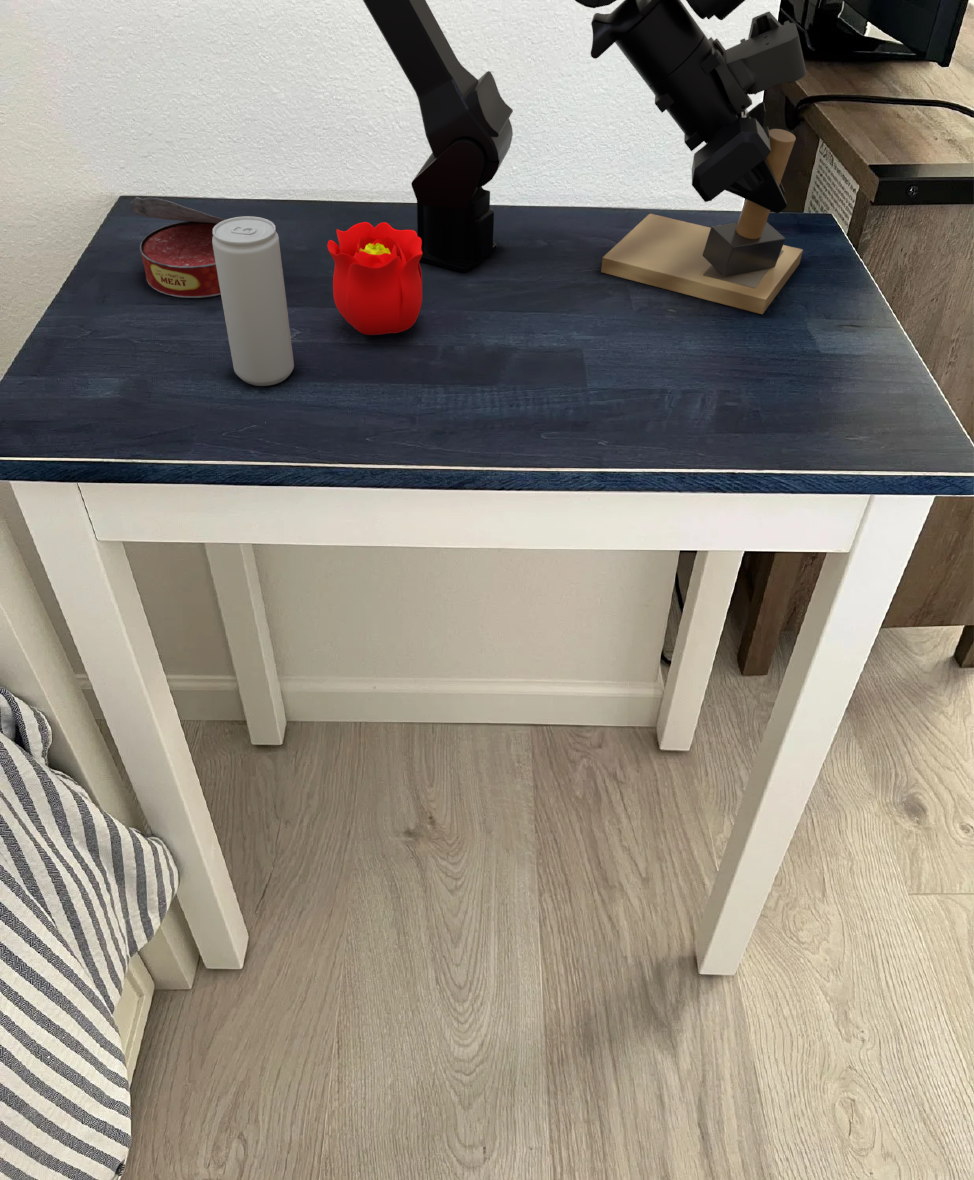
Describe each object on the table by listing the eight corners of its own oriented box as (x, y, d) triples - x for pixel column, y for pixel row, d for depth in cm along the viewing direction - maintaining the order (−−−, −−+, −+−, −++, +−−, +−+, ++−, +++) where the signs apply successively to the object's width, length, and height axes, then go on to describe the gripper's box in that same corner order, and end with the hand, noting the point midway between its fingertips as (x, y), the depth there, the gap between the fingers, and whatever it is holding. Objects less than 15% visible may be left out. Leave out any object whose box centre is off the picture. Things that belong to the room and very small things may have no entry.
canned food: (153, 319, 97) (103, 215, 93) (246, 281, 101) (201, 179, 97) (184, 312, 87) (129, 196, 84) (284, 270, 91) (237, 157, 87)
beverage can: (282, 392, 80) (263, 246, 72) (225, 384, 80) (199, 239, 72) (303, 361, 83) (286, 219, 75) (247, 354, 84) (225, 212, 76)
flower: (433, 311, 90) (432, 224, 85) (416, 355, 84) (414, 264, 79) (347, 303, 91) (340, 216, 85) (324, 346, 85) (316, 255, 80)
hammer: (723, 276, 92) (765, 148, 83) (701, 255, 94) (741, 128, 85) (775, 267, 95) (822, 142, 86) (753, 247, 97) (796, 122, 88)
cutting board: (600, 272, 96) (602, 256, 95) (647, 227, 104) (650, 212, 103) (762, 314, 91) (766, 298, 90) (799, 264, 99) (803, 248, 98)
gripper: (767, 17, 72) (880, 184, 79) (754, -41, 86) (851, 106, 92) (642, 124, 78) (757, 271, 85) (648, 54, 92) (747, 185, 98)
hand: (781, 203), depth 90 cm, fingers closed on hammer, 2 cm apart
